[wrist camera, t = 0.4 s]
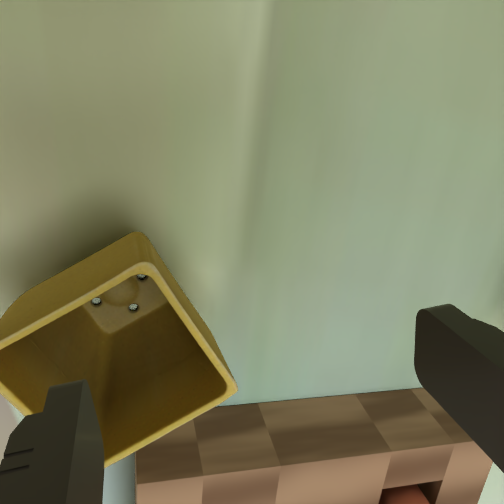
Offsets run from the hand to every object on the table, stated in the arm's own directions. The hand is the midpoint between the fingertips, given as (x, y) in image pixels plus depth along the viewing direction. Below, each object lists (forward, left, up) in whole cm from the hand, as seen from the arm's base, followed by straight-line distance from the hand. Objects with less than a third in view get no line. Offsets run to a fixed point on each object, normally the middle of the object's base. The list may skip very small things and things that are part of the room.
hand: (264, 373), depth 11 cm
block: (+23, +10, -19) cm, 32 cm away
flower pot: (+7, -4, -19) cm, 21 cm away
